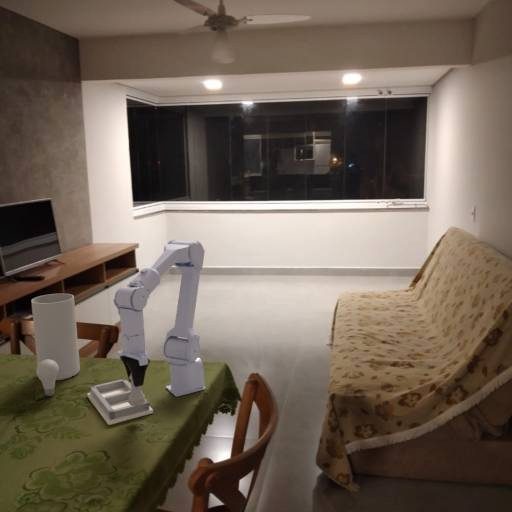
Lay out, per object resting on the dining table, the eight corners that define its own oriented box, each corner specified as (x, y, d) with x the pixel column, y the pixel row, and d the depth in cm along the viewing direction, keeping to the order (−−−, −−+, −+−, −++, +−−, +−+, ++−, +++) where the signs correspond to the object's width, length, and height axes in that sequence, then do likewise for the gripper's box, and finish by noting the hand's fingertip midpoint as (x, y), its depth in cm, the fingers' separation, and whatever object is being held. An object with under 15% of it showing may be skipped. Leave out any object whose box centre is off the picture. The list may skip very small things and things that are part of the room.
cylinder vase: (72, 381, 164) (65, 303, 160) (32, 382, 164) (24, 303, 160) (85, 366, 176) (79, 293, 172) (48, 366, 177) (41, 293, 172)
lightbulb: (53, 401, 150) (50, 364, 148) (34, 399, 152) (30, 363, 150) (65, 392, 156) (62, 356, 154) (46, 391, 157) (43, 355, 156)
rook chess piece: (130, 399, 140) (128, 370, 139) (147, 399, 140) (145, 370, 139) (125, 406, 136) (124, 376, 135) (143, 406, 136) (141, 376, 134)
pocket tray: (128, 386, 159) (127, 377, 159) (153, 412, 142) (152, 402, 141) (87, 396, 153) (86, 386, 152) (108, 425, 136) (107, 414, 135)
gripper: (108, 328, 139) (112, 377, 141) (126, 343, 127) (130, 397, 129) (134, 323, 143) (137, 371, 145) (154, 338, 130) (157, 390, 133)
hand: (136, 383), depth 137 cm, fingers closed on rook chess piece, 3 cm apart
